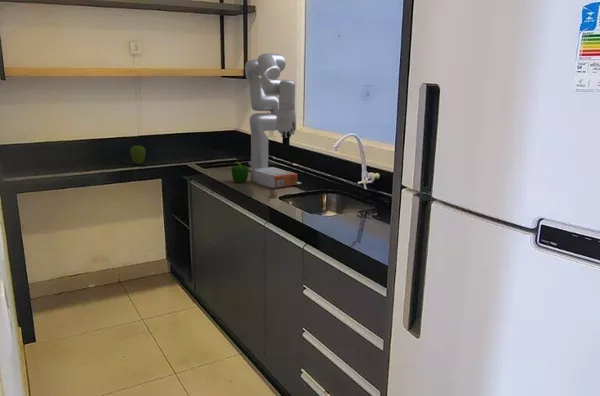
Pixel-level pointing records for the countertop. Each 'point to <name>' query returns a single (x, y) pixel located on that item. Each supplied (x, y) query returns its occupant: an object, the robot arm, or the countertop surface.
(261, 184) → the mat
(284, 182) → the cracker box
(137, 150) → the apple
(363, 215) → the countertop surface
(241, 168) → the bell pepper
